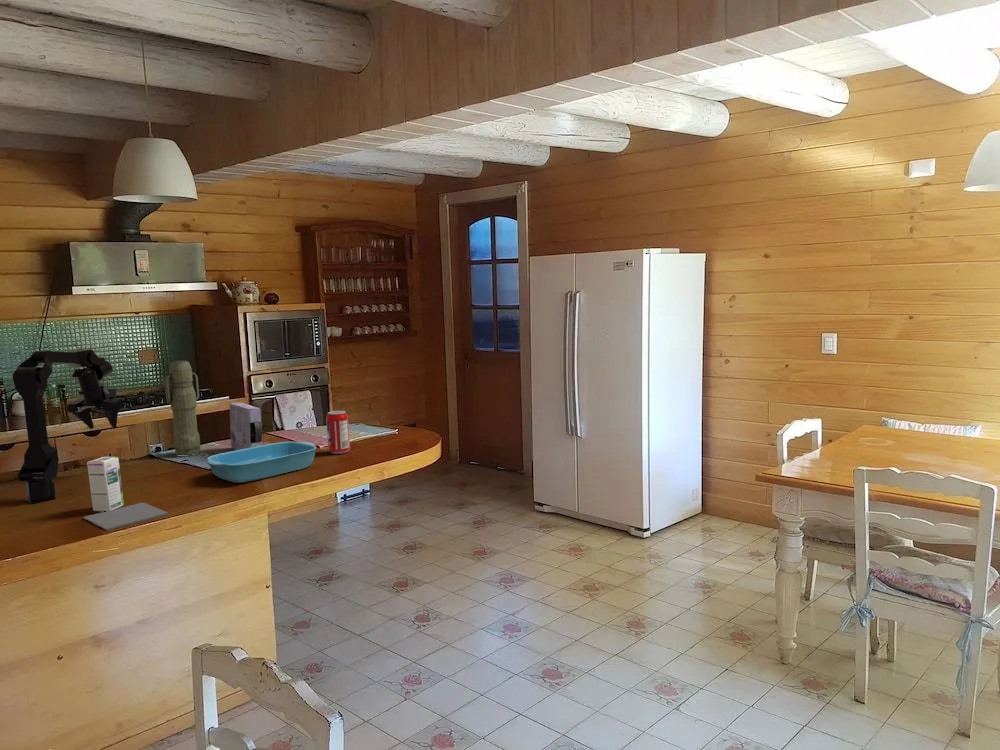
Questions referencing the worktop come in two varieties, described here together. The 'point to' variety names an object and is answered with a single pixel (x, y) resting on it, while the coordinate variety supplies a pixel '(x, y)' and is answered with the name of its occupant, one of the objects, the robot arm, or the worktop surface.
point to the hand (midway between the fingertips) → (103, 428)
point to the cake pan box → (245, 426)
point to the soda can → (338, 432)
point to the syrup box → (105, 483)
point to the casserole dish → (262, 461)
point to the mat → (125, 516)
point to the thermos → (183, 406)
